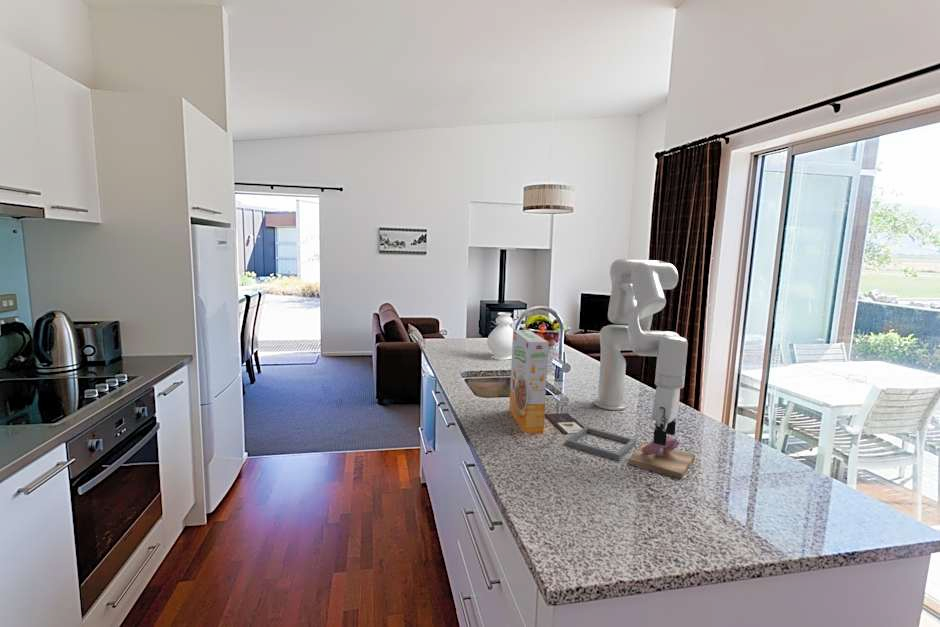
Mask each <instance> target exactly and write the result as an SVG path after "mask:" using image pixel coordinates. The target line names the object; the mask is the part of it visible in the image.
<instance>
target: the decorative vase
mask: <svg viewBox="0 0 940 627" xmlns="http://www.w3.org/2000/svg"><path fill="white" fill-rule="evenodd" d="M497 315H498V316H497V317H496V318H495V322H496V324H497V326H496V327H495V328H493V329H492V331H490V333H489V334H488V337H487V340H486V344H487V346H488V349H490V351H491V352H492V355H491V357H493V358H496V359H511V358H512V342H513V330H514V328H513V327H512V326H510V325H512V324H513V323H514V320H513V318H512V317H511V316H512V313H511V312H506V311H505V312H501V311H499V312H497ZM491 357H490V358H491Z"/></svg>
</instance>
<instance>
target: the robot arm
mask: <svg viewBox="0 0 940 627" xmlns="http://www.w3.org/2000/svg"><path fill="white" fill-rule="evenodd" d="M609 275H610V276H609V278H610V282H611V291H610V297H609V303H608V311H607V320H608V321H610V323H612V324H608V325H606V326H603V327H602V328H600V331H599V344H600V360H599V361H600V363H599V374H598V375H599V377H598V392H597V394H598V395H597V397H596V398H594V399H593V400H592V401H593V402H592V403H593V405H594V407H598V408H601V409H602V410H603V409H604V410H611V411H622V410H625V409H627V408H628V403H627V402H625V401H624V396H625V384H626V382H625V379H626V370H627V369H626V368H627V361H626V359H625V357H624V355H623V354H622V353H621V351H632V352H633V353H634V354H635V355H637V356H639V357H641V356H642V357H656V364H655V365H656V367H655V376H654V377H655V379H654V384H655V386H656V388H655V392H654V399H653V407H652V411H651V412H652V415H651V419H652V420H653V421H655V423H654V428H653V440H652V442H654V443H656V444H660V445H664V446H665V445H666V437H667V436H669V435H671V436H675V434H676V425H677V424H676V423H677V422H676V421H677V416H678V414H679V407H680V396H681V395H680V394H681V389H683V388H684V387H685V378H686V366H687V358H688V346H689V343H688V339H686V338H685V337H684V336H683V337H682V336H680V334H679V333H677V332H675V331H671V330H669V331H667V330H664V331H663V330H651V327H652V321H653V315H654V314H657V313H659V312H660V311H662V310H663V309H664V308H665V307H666V304H667V299H666V296H665V293H664V290H673V289H675V288H676V287H677V285H678V282H679V273H678V270H677V268H676V266H674V264H672V263H670V262H667V261H663V260H658V259H657V260H654V259H653V260H652V259H635V258H634V259H633V258H623V259H621V258H620V259H616V260H614V261H613V262H612V263H611V265H610V269H609Z"/></svg>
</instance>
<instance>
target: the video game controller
mask: <svg viewBox="0 0 940 627" xmlns="http://www.w3.org/2000/svg"><path fill="white" fill-rule="evenodd" d="M650 443H651V444H649V445H646V446H644V447H643V448H642V453H643V454H645V455H651V454H654V453H655V455H656V456H657V457H658V456H660V455H661V454H662V453H664V454H665V455H666V454H669V453H670V452H671V451H672V450H674V449H677V447H679V445H680V441H678V439H676V438H675V437H674V435H671V437H670V436H669V435H667V437H666V445H665V446H664V445H660V444H656V443H654V442H653V441H651V442H650Z"/></svg>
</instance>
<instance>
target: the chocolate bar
mask: <svg viewBox="0 0 940 627" xmlns="http://www.w3.org/2000/svg"><path fill="white" fill-rule="evenodd" d="M544 418H546V419H547V420H548V421H549V422H550V423H551V424H552V425H553V426H555V428H556V429H557V430H559V432H561V433H562V434H563V435H574V434H576V433H577V432H579V431H580V430H582V429H583V428H585V427H586V426H584V425H583V424H582V423H580V422H579V421H578V420H576V419H575V418H574V417H573V416H572V415H570V414H569V413H568V412H567V413H545V415H544ZM587 434H590V433H589V431H588V432H587Z"/></svg>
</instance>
